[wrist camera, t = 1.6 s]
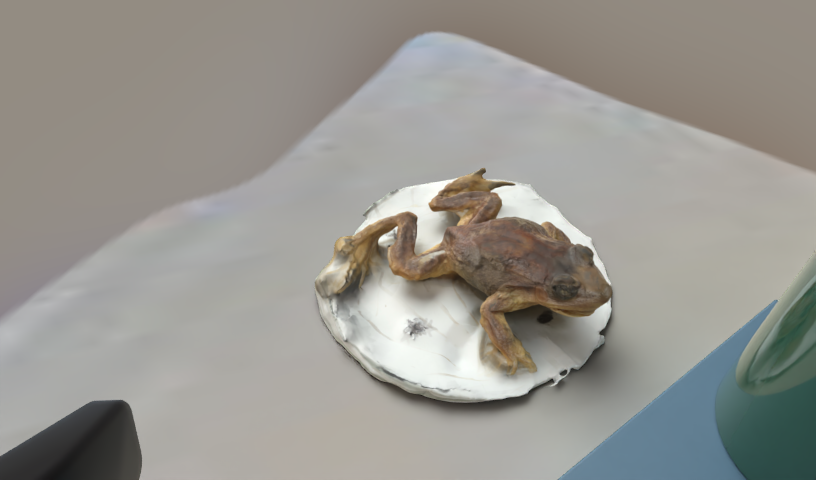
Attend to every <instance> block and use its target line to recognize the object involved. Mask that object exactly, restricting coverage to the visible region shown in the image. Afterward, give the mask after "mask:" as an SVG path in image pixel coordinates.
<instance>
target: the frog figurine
mask: <svg viewBox="0 0 816 480" xmlns="http://www.w3.org/2000/svg"><path fill="white" fill-rule="evenodd" d="M485 172H486V170H485V168H482V169H480V170H479V171H476V172H474V173H471V174H468V175H466V176H463V177H459V178H455V179H450V180H445V181H442V182H434V183H427V184H423V185H415V186H411V187H404V188H403V189H401V190H395V191H392V192H390V193H389V194H387V195H386V196H385V197H384V198H382V199H380V200H379V201H377V202H376V203H373V204H372V205H371V206H370V207H369V208H368V209H367V210H366V211H365V213H364V214H363V216H365V217H366V220H365V222H364V223H363V224H362V225H361V226H360V227H359V228H358V229H357V231H356V233H355V234H354V235H353V236H346V237H340V238H339V239H338V240H337V241H336V243H335V247H334V255H333V258H332V260H331V261H330V262H329V264H328V265H327V266H326V267H325V268H323V269H322V271H321V272H320V274H319V275H318V276H317V277H316V280H315V292H316V296H317V300H318V304H319V309H320V314H321V317H322V319H323V320H324V322H325V324H326V326H327V327H328V329H329V330H330V331H331V333H332V335H333V336H334V338H335V340H337V341H338V342H339V343H340V344H341V345H342V346H344V348H346V350H347V351H348V352H349V353H350V354H351V355H352V356H353V357H354V358H355V359H356V360H358V361H359V362H360V363H361V366H362V367H363V368H364V369H366V371H367V372H369V373H370V374H371V375H373V376H374V377H376V378H377V379H379V380H381V381H383V382H389V383H392V384H394V385H397V386H399V387H400V388H402V389H404V390H405V391H407V392H409V393H412V394H421V395H423V396H426V397H429V398H433V399H437V400H442V401H448V402H458V403H459V402H463V403H468V402H482V401H489V400H496V399H504V398H506V397H518V396H521V395H524V394H527V393H528V392H529V391H530V390H531V389H532V388H535V387H537V386H538V385H541V384H543V383H545V382H547V381H549V380H551V379H553V380H554V384H553V385H550V386H554V385H556V384H558V382H559V381H560V380H561V379H562V378H564V377H566V375H567V374H568V373H569V372H570V369H571V368H574V369H577V370H579V369H580V368H581V367H582V366H583V365H584V364H585V362H586V361H587V359H588V358H589V357H590V355H591V354H592V352H593V350H594V349H596V348H599V346H600V345H601V344H604V336H603V335H600V334H599V333H600V331H601V330H602V329H604V328H605V326H606V324H607V322H608V319H609V318H610V314H611V310H612V308H611V306H610V305H611V296H612V288H611V282H610V281H609V278H608V277H607V274H606V269H605V267H604V264H603V263H602V262H601V260H600V259H599V256H598V255H597V252H596V250H595V248H594V246H593V243H592V239H591V238H590V237H587V236H585V235H584V234H583V233H582V232H581V231H580V230H578V229H577V228H575V227H574V226H573V225H571V224H570V223H569V222H568V221H567V220H566V219H565V218H564V217H563V216H562V214H561V213H560V212H559V210H558V209H557V208H556V207H555V206H552V205H550V204H549V203H548V202H546V201H545V200H544V199H543V198H541V197H540V196H539V195H538V194H537V193H536V191H535V190H534V188H533V187H532V186H531V185H529V184H521V183H519V182H511V181H507V180H498V179H496V180H486V179H484V178H483V177H482V175H483V173H485ZM385 306H386V307H385ZM564 370H567V374H566V375H565V376H561V375H560V373H561V372H563V371H564ZM546 387H548V386H546ZM541 389H542V388H541Z"/></svg>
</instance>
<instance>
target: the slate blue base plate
mask: <svg viewBox="0 0 816 480" xmlns="http://www.w3.org/2000/svg"><path fill="white" fill-rule="evenodd" d="M777 302H778V300H774V301H773V302H772V303H771V304H769V305H768V306H767V307H766V308H765V309H763V310H762V311H761V312H760V313H759V314H757V315H756V316H755V317H754V318H753V319H751V320H750V321H749V322H748V323H746V324H745V325H744V326H743V327H742V328H740V329H739V330H738V331H737V332H736V333H734V334H733V335H732V336H731V337H730V338H728V339H727V340H726V341H725V342H723V343H722V344H721V345H720V346H719V347H717V348H716V349H715V350H714V351H713V352H711V353H710V354H709V355H708V356H707V357H705V358H704V359H703V360H702V361H701V362H699V363H698V364H697V365H696V366H694V367H693V368H692V369H691V370H690V371H688V372H687V373H686V374H685V375H684V376H682V377H681V378H680V379H679V380H678V381H676V382H675V383H674V384H673V385H671V386H670V387H669V388H668V389H667V390H665V391H664V392H663V393H662V394H661V395H659V396H658V397H657V398H656V399H655V400H653V401H652V402H651V403H650V404H648V405H647V406H646V407H645V408H644V409H642V410H641V411H640V412H639V413H638V414H636V415H635V416H634V417H633V418H632V419H630V420H629V421H628V422H627V423H625V424H624V425H623V426H622V427H621V428H619V429H618V430H617V431H616V432H615V433H613V434H612V435H611V436H610V437H609V438H607V439H606V440H605V441H604V442H602V443H601V444H600V445H599V446H598V447H596V448H595V449H594V450H593V451H592V452H590V453H589V454H588V455H587V456H586V457H584V458H583V459H582V460H581V461H579V462H578V463H577V464H576V465H575V466H573V467H572V468H571V469H570V470H569V471H567V472H566V473H565V474H564V475H563V476H561V477H560V478H559V479H558V480H748V479H747V478H746V477H745V476H744V475H743V474H742V472H741V471H740V470H739V469H738V467H737V466H736V465H735V463H734V462H733V460H732V459H731V457H730V455H729V454H728V452H727V450H726V448H725V446H724V444H723V442H722V439H721V436H720V433H719V431H718V426H717V422H716V414H715V400H716V394H717V390H718V386H719V384H720V382H721V380H722V378H723V376H724V375H725V373H726V372H727V370H728V369H729V368H730V366H731V365H732V364H733V362H734V361H735V359H736V358H737V357H738V355H739V354H740V353H741V351H742V350H743V349H744V347H745V346H746V344H747V343H748V342H749V340H750V339H751V338H752V336H753V335H754V334H755V332H756V331H757V329H758V328H759V327H760V325H761V324H762V323H763V321H764V320H765V318H766V317H767V316H768V314H769V313H770V312H771V310H772V309H773V308H774V306H775V305H776V303H777Z"/></svg>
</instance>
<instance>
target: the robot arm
mask: <svg viewBox="0 0 816 480" xmlns="http://www.w3.org/2000/svg"><path fill="white" fill-rule="evenodd" d="M141 468H142V455H141V449H140V445H139V441H138V436H137V432H136V428H135V423H134V419H133V414H132V411H131V408H130V406H129V404H128V403H126V402H125V401H123V400H106V401H93V402H90V403H88V404H86V405H84V406H83V407H81V408H79V409H78V410H76V411H74V412H73V413H71V414H69V415H68V416H66V417H65V418H63V419H61V420H60V421H58V422H56V423H55V424H53V425H51V426H50V427H48V428H46V429H45V430H43V431H41V432H40V433H38V434H36V435H35V436H33V437H32V438H30V439H28V440H27V441H25V442H23V443H22V444H20V445H18V446H17V447H15V448H13V449H12V450H10V451H8V452H7V453H5V454H3V455H2V456H0V480H139V477H140V473H141Z"/></svg>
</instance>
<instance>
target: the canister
mask: <svg viewBox="0 0 816 480" xmlns="http://www.w3.org/2000/svg"><path fill="white" fill-rule="evenodd" d="M715 414H716V422H717V426H718V431H719V433H720V436H721V439H722V442H723V444H724V446H725V448H726V450H727V452H728V454H729V455H730V457H731V459H732V460H733V462H734V463H735V465H736V466H737V467H738V469H739V470H740V471H741V472H742V474H743V475H744V476H745V477H746V478H747V479H748V480H816V250H815V252H814V253H813V254H812V256H811V257H810V258H809V260H808V261H807V262H806V264H805V265H804V267H803V268H802V269H801V271H800V272H799V273H798V275H797V276H796V278H795V279H794V280H793V282H792V283H791V284H790V286H789V287H788V288H787V290H786V291H785V293H784V294H783V295H782V297H781V298H780V299H779V301H778V302H777V303H776V305H775V306H774V308H773V309H772V310H771V312H770V313H769V314H768V316H767V317H766V318H765V320H764V321H763V323H762V324H761V325H760V327H759V328H758V329H757V331H756V332H755V334H754V335H753V336H752V338H751V339H750V340H749V342H748V343H747V344H746V346H745V347H744V349H743V350H742V351H741V353H740V354H739V355H738V357H737V358H736V359H735V361H734V362H733V364H732V365H731V366H730V368H729V369H728V370H727V372H726V373H725V375H724V376H723V378H722V380H721V382H720V384H719V386H718V390H717V394H716V400H715Z"/></svg>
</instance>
